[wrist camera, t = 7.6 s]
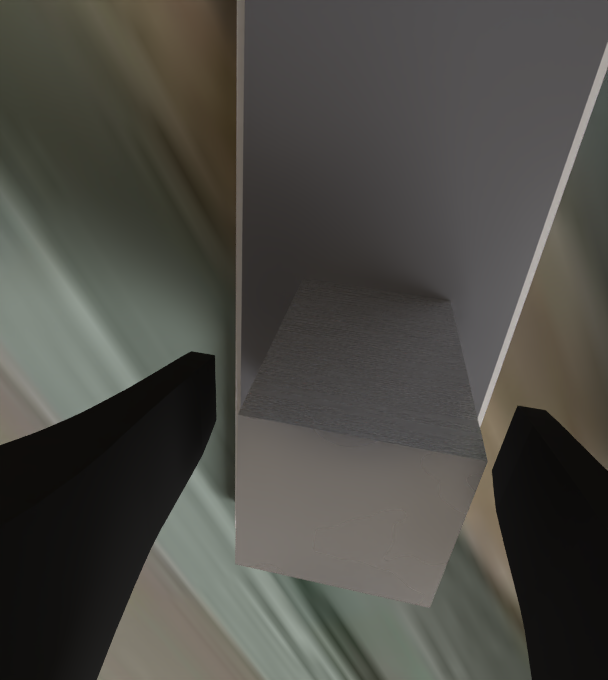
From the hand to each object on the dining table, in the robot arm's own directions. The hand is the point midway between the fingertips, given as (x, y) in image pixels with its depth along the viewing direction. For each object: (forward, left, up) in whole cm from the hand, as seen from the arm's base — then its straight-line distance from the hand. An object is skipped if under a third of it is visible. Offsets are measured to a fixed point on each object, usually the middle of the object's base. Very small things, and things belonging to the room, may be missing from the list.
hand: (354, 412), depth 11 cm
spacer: (0, 0, -3) cm, 3 cm away
